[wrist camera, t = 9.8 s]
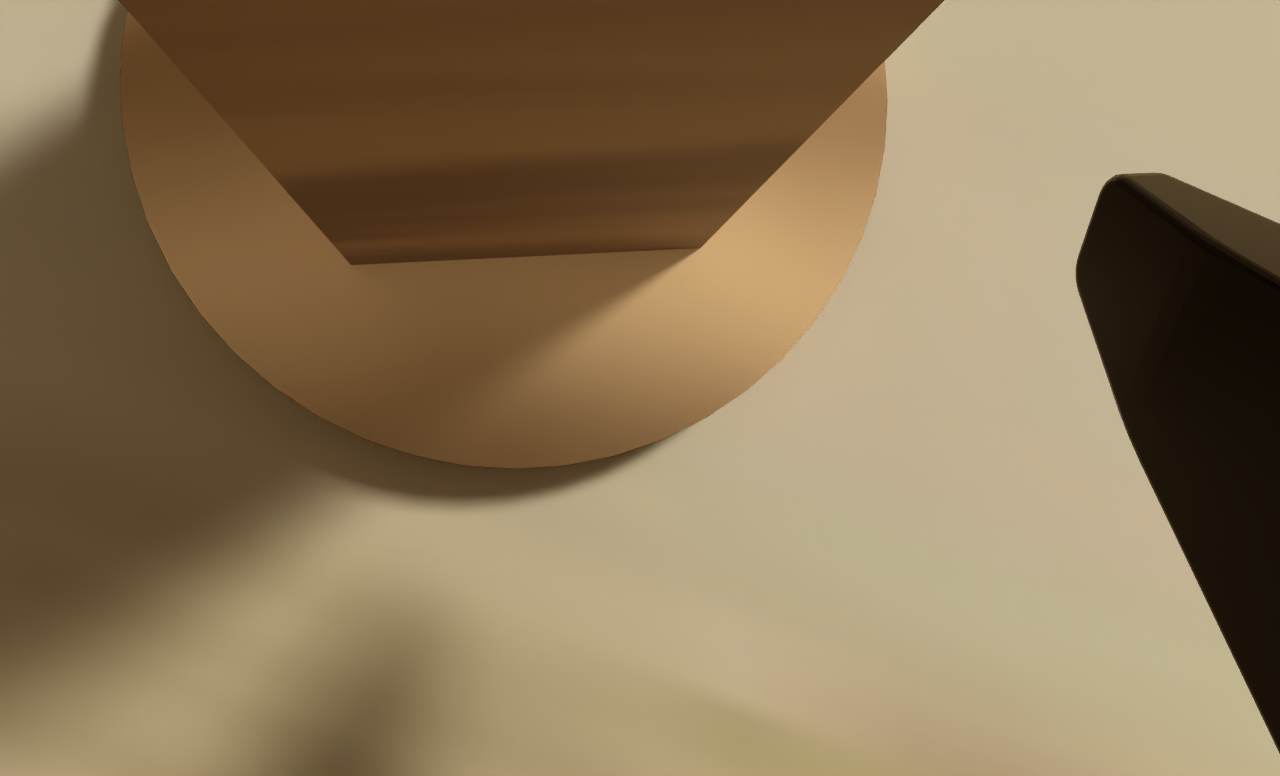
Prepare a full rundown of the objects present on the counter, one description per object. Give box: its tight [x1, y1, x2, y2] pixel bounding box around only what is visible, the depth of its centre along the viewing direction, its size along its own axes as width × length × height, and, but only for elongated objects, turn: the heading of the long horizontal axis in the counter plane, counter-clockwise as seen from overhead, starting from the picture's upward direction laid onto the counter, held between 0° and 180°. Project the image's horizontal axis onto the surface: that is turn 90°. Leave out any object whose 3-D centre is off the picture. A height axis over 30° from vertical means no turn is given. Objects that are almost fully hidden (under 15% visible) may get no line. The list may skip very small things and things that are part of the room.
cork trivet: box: [120, 10, 887, 469], centre depth 17 cm, size 11×11×1 cm
